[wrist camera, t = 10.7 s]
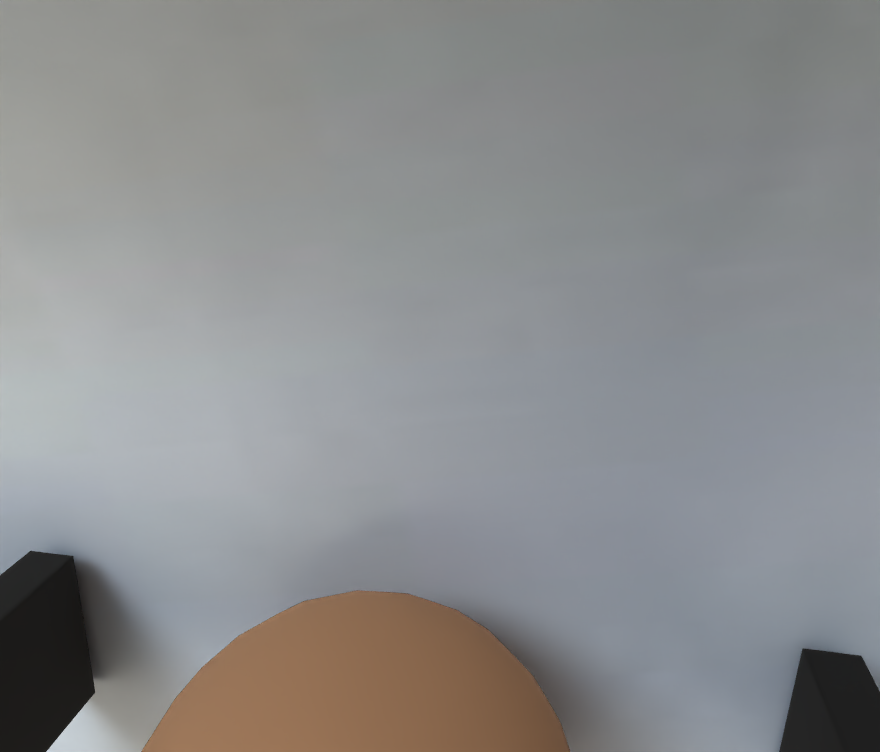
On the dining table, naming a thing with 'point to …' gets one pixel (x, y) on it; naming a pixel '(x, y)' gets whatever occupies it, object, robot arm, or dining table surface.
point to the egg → (362, 685)
